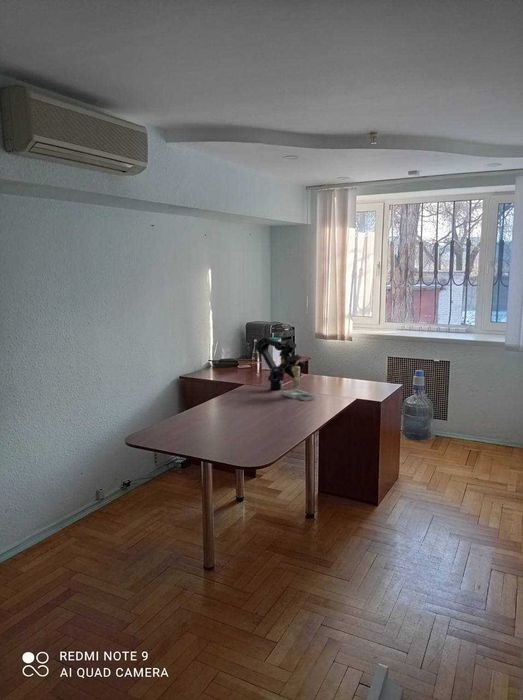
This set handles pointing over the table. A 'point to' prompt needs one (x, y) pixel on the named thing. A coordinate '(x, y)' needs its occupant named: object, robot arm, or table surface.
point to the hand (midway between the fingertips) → (297, 377)
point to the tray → (294, 393)
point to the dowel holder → (305, 397)
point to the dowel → (296, 377)
